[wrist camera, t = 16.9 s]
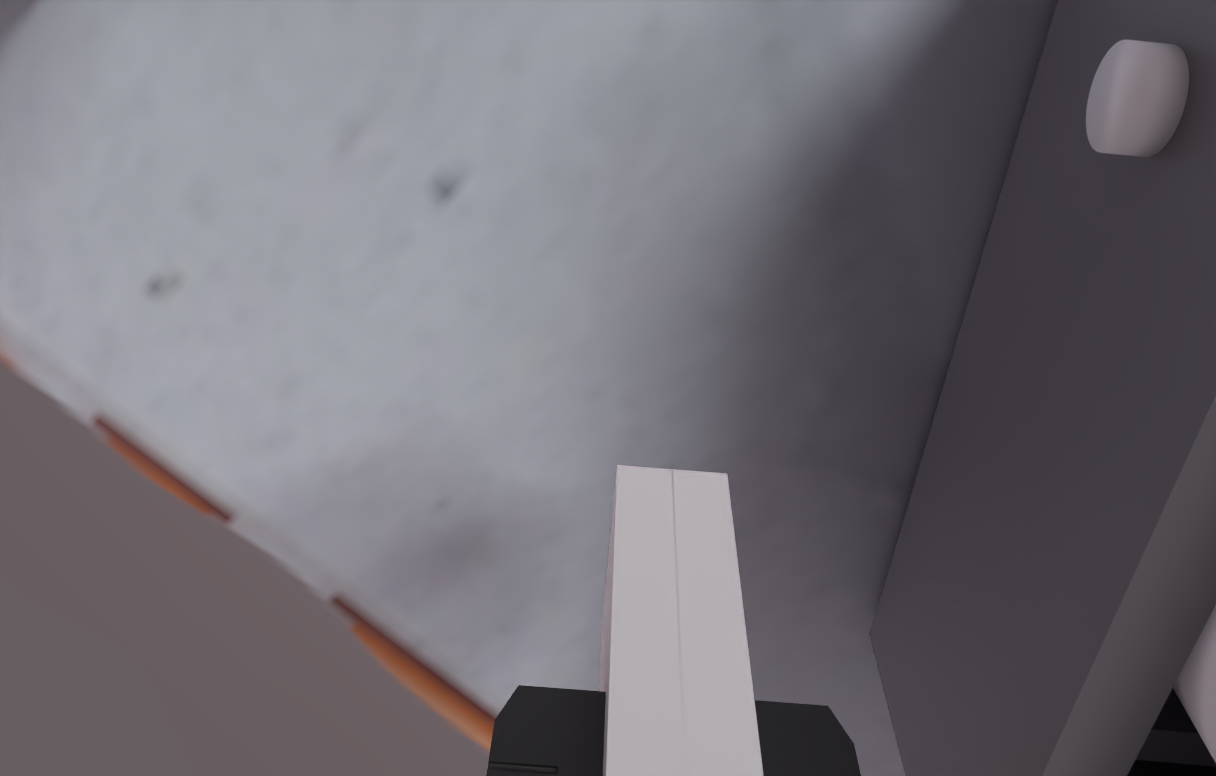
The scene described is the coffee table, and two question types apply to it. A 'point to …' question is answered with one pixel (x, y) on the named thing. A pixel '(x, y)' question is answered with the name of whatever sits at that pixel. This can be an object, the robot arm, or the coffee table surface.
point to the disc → (1201, 685)
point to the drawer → (1074, 428)
